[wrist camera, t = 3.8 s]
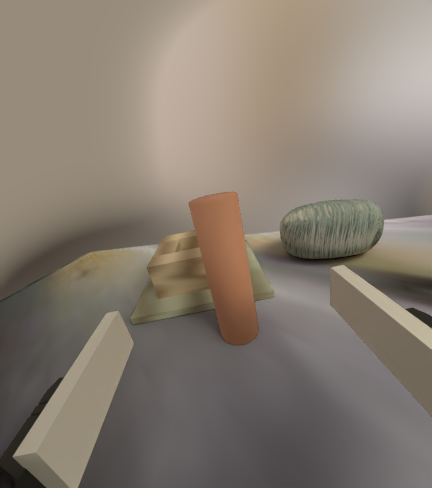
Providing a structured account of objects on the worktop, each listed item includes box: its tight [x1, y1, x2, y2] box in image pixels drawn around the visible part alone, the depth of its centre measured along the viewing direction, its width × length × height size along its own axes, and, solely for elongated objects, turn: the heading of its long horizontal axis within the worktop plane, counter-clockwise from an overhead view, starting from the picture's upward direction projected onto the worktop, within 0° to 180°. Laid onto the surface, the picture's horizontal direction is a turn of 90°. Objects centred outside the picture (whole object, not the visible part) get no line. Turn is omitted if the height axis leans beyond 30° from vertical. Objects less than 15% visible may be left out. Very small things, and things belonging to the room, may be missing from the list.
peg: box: [189, 192, 259, 345], centre depth 19 cm, size 4×4×14 cm
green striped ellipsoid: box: [280, 199, 384, 259], centre depth 31 cm, size 14×10×10 cm
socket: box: [130, 230, 274, 325], centre depth 33 cm, size 18×18×6 cm
